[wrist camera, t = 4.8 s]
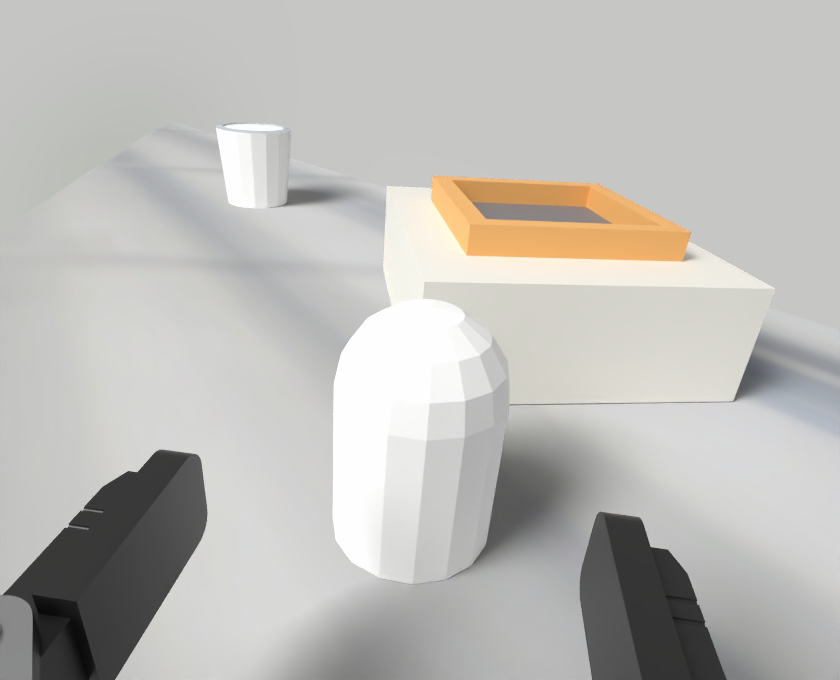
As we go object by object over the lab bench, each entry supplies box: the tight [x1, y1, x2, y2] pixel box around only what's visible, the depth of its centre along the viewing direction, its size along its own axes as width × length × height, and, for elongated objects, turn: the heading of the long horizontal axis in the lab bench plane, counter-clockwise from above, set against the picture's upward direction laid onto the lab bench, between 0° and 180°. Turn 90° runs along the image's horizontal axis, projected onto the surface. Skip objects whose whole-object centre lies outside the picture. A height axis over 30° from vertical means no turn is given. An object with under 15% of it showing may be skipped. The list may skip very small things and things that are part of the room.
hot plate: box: [383, 176, 775, 404], centre depth 35 cm, size 16×21×8 cm
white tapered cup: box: [216, 123, 291, 208], centre depth 55 cm, size 7×7×7 cm
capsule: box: [333, 299, 510, 584], centre depth 18 cm, size 5×5×8 cm
